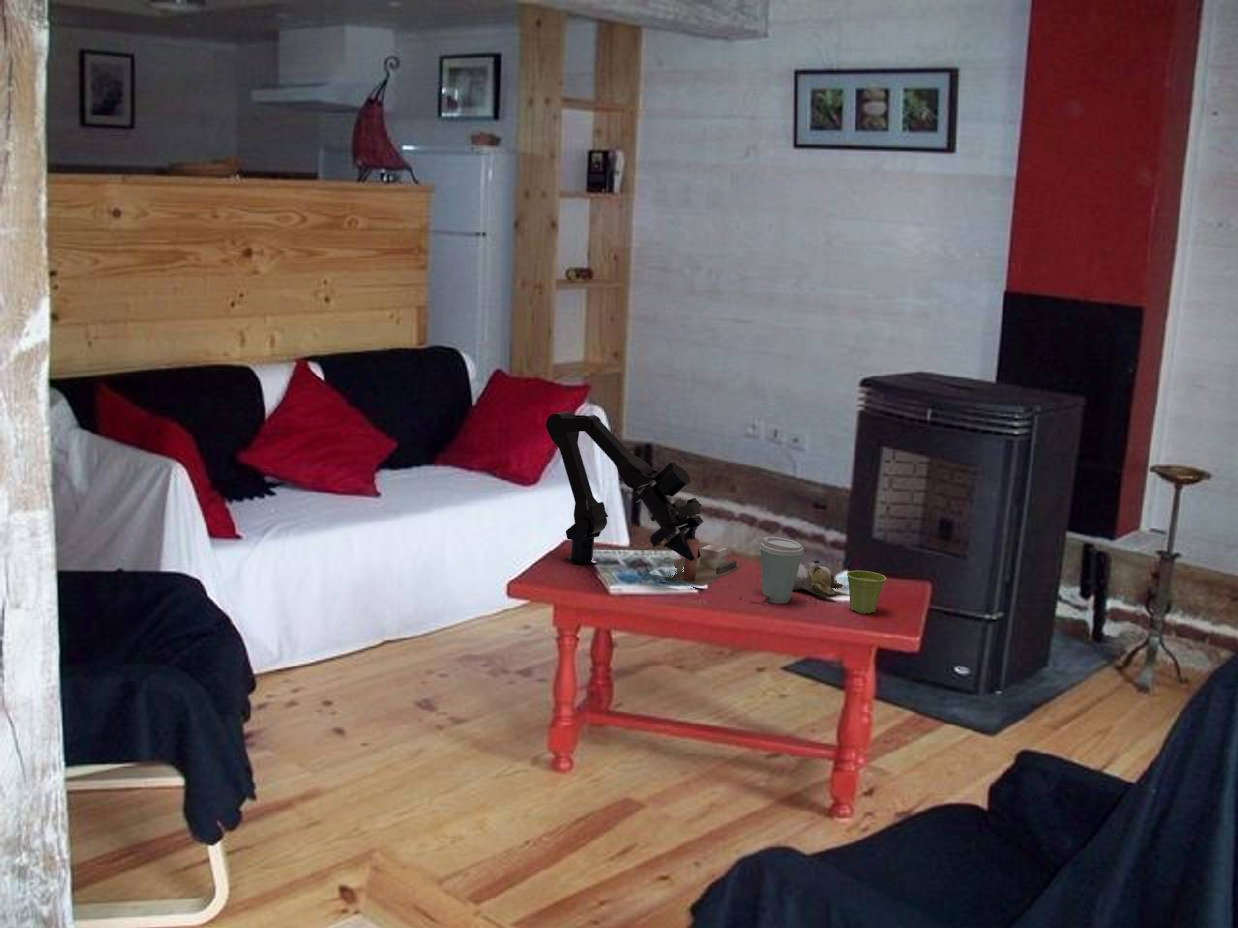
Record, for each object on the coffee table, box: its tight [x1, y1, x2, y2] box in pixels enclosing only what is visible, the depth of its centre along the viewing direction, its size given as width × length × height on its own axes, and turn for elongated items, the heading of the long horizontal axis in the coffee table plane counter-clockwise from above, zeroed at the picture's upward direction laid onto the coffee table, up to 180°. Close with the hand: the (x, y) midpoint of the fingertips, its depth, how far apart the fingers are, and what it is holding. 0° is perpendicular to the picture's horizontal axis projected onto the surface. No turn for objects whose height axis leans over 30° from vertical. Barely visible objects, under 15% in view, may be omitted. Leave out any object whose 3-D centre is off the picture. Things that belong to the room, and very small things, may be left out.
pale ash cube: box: [699, 544, 728, 571], centre depth 366 cm, size 5×5×5 cm
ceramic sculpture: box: [793, 560, 844, 598], centre depth 355 cm, size 11×9×15 cm
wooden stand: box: [667, 538, 744, 591], centre depth 361 cm, size 16×24×11 cm, turn 151°
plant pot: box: [846, 570, 887, 614], centre depth 343 cm, size 9×9×9 cm
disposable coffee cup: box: [759, 536, 805, 605], centre depth 345 cm, size 11×11×15 cm
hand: (696, 558), depth 351 cm, fingers closed on wooden stand, 3 cm apart
